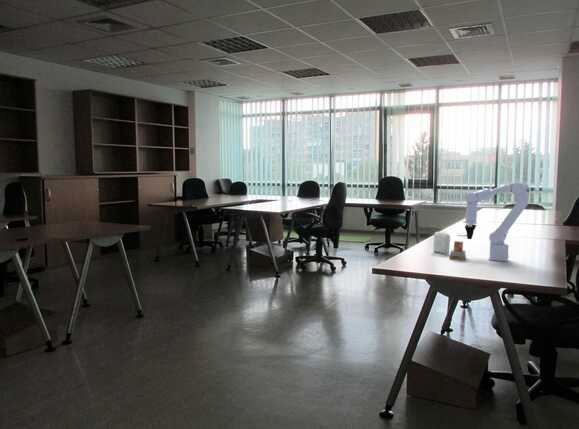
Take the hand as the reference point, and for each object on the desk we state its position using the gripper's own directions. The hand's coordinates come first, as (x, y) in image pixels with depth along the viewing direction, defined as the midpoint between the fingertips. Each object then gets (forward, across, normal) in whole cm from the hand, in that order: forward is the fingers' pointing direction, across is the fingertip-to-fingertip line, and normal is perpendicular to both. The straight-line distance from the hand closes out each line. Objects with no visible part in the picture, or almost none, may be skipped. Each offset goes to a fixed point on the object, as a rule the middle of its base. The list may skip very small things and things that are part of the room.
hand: (469, 238), depth 271 cm
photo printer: (+11, -6, -16) cm, 20 cm away
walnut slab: (+11, +10, -5) cm, 16 cm away
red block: (+6, +10, -5) cm, 13 cm away
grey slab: (+9, +10, -5) cm, 14 cm away
